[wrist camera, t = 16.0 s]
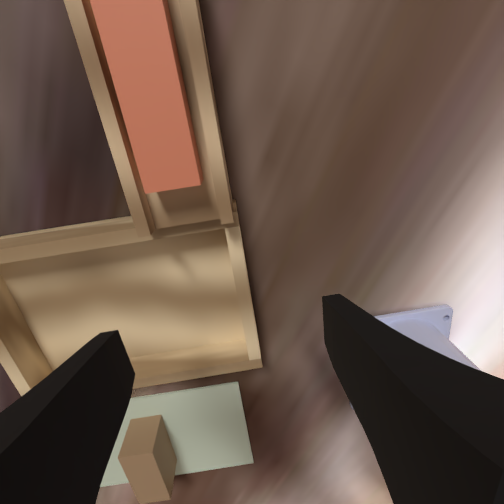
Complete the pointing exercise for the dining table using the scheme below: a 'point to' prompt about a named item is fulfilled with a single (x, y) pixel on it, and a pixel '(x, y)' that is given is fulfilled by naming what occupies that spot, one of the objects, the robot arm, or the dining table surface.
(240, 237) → the wooden box
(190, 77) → the key channel
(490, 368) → the dining table surface
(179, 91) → the salmon orange bar
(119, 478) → the pale green plate
